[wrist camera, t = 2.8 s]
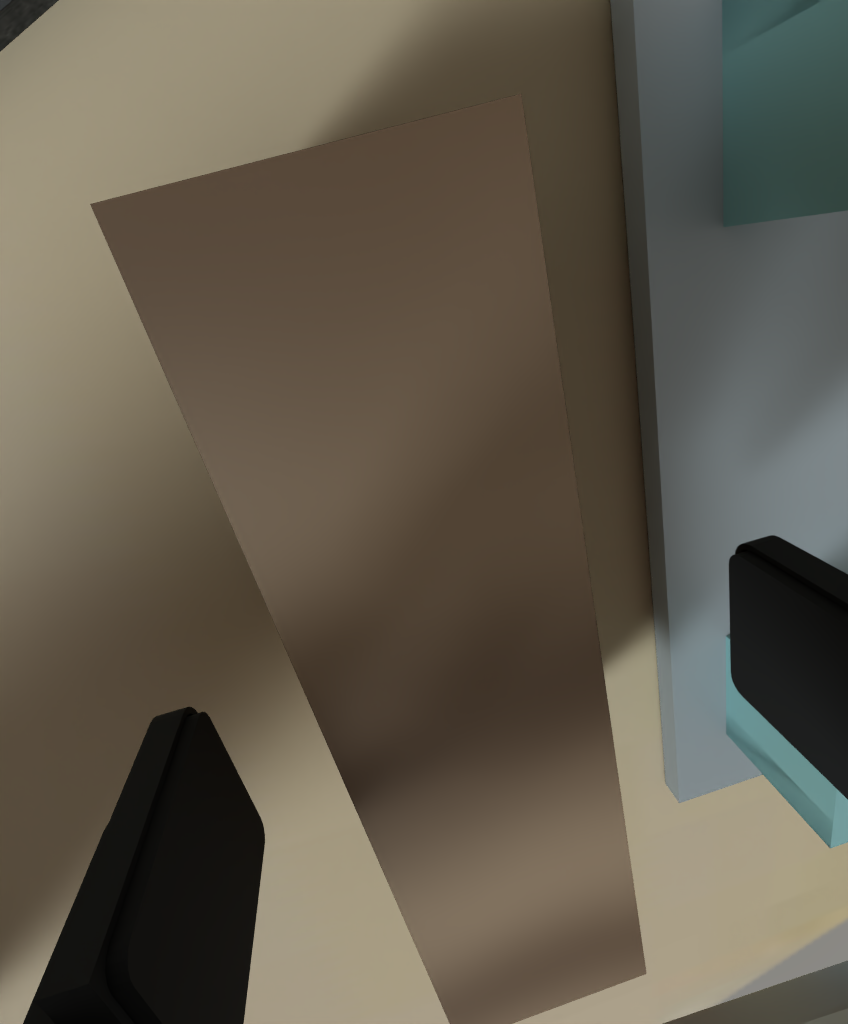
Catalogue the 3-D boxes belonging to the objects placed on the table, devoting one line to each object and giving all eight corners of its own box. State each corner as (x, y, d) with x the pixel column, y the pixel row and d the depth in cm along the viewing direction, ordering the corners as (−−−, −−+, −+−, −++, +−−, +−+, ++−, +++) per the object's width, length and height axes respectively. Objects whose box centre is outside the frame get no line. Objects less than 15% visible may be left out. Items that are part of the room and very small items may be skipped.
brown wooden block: (217, 248, 11) (90, 204, 5) (407, 197, 12) (521, 93, 5) (406, 764, 17) (458, 1043, 11) (526, 724, 18) (646, 973, 11)
